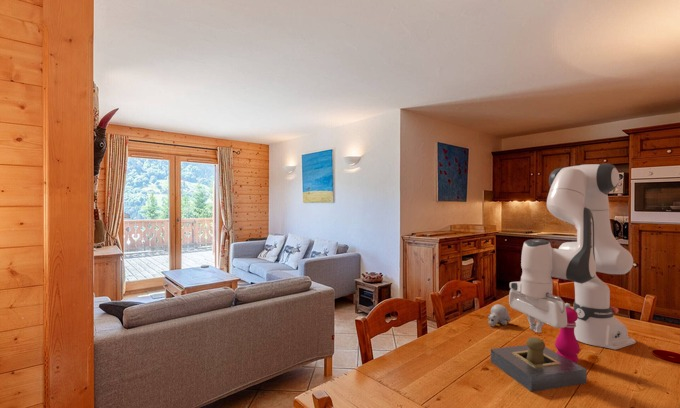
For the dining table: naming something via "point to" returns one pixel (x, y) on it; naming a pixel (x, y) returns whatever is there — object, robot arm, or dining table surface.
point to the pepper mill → (568, 337)
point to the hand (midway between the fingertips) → (535, 330)
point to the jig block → (538, 368)
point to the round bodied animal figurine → (498, 315)
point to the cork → (535, 350)
